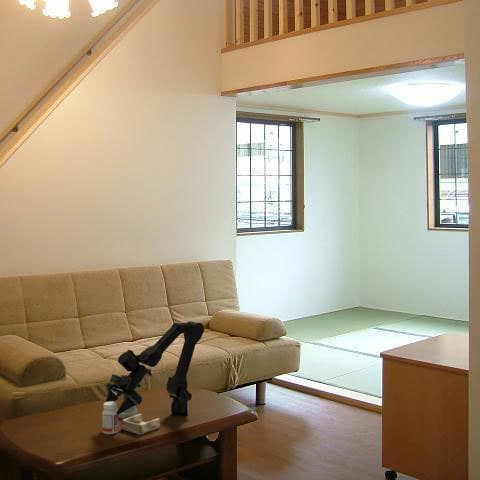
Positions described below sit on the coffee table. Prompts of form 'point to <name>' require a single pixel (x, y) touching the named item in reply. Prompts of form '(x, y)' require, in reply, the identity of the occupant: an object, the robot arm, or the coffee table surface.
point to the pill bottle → (110, 418)
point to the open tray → (139, 424)
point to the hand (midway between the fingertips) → (110, 411)
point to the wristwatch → (128, 413)
